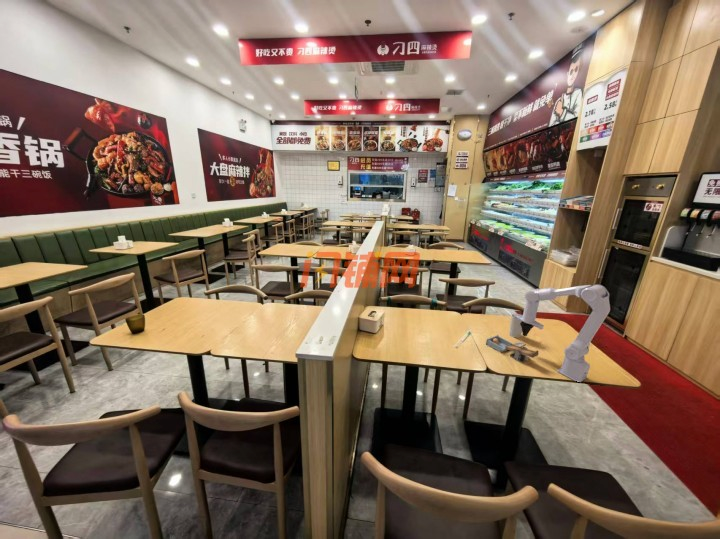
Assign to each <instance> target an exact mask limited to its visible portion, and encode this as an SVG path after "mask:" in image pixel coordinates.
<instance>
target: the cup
mask: <svg viewBox="0 0 720 539" xmlns="http://www.w3.org/2000/svg"><path fill="white" fill-rule="evenodd" d="M515 314H517V315H521V316H523V314H519V313H511V314H510V322H509V330H508V335H509V336H510V337H513V338H516V339H519V338H521V336H522V334H523V333H522V327H521V325H520V323H521V322H522V321H521V320H518V319H515V318H513V317H514V315H515Z"/></svg>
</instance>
